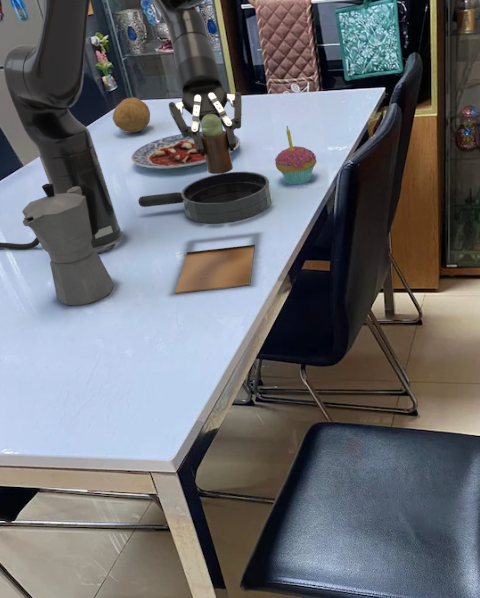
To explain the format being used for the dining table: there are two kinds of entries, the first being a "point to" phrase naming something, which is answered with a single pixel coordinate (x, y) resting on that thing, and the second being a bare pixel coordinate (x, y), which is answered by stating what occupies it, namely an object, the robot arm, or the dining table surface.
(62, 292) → the coffeepot
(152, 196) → the pan handle
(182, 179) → the dining table surface
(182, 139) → the ceramic plate
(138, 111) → the potato
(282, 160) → the cupcake
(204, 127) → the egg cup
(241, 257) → the placemat
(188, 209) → the pan
